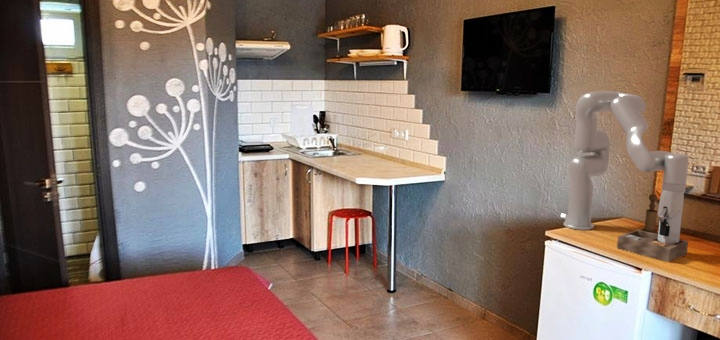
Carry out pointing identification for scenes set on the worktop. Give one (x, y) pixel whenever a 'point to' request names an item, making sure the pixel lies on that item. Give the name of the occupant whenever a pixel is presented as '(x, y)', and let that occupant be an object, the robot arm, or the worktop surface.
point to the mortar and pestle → (651, 216)
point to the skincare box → (672, 230)
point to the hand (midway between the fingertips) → (669, 233)
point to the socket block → (651, 246)
